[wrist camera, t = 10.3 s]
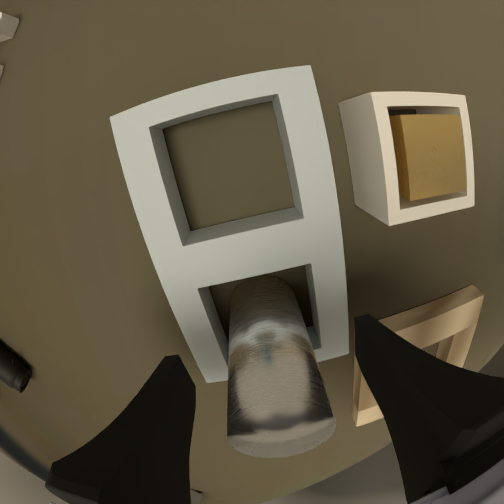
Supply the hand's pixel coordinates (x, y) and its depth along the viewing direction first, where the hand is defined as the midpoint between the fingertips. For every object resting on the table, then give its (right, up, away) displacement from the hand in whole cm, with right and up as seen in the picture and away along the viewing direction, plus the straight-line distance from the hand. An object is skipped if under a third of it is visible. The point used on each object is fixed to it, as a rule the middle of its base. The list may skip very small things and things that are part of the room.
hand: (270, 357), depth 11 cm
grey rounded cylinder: (0, +1, +4) cm, 4 cm away
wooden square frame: (+11, -4, +7) cm, 14 cm away
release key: (+6, +9, +1) cm, 11 cm away
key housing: (+6, +9, +1) cm, 11 cm away
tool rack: (-1, +5, +3) cm, 6 cm away
